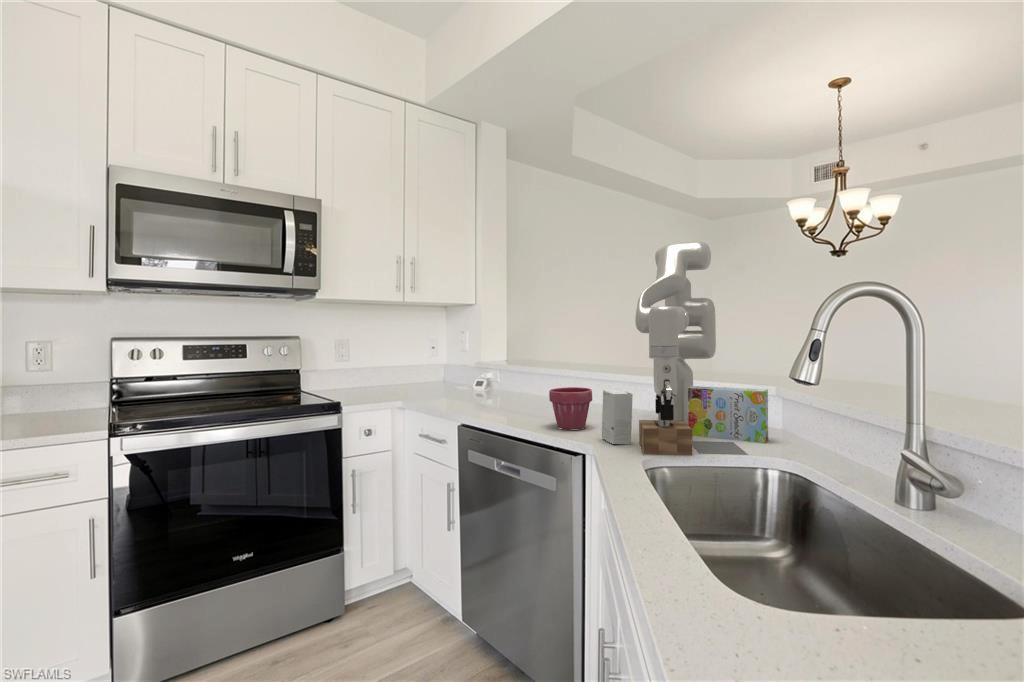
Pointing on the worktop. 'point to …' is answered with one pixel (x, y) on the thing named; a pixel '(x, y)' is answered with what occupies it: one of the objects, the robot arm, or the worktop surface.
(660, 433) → the hole block
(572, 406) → the plant pot
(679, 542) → the worktop surface
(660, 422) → the pin
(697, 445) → the mat
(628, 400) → the skincare box
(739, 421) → the snack box
